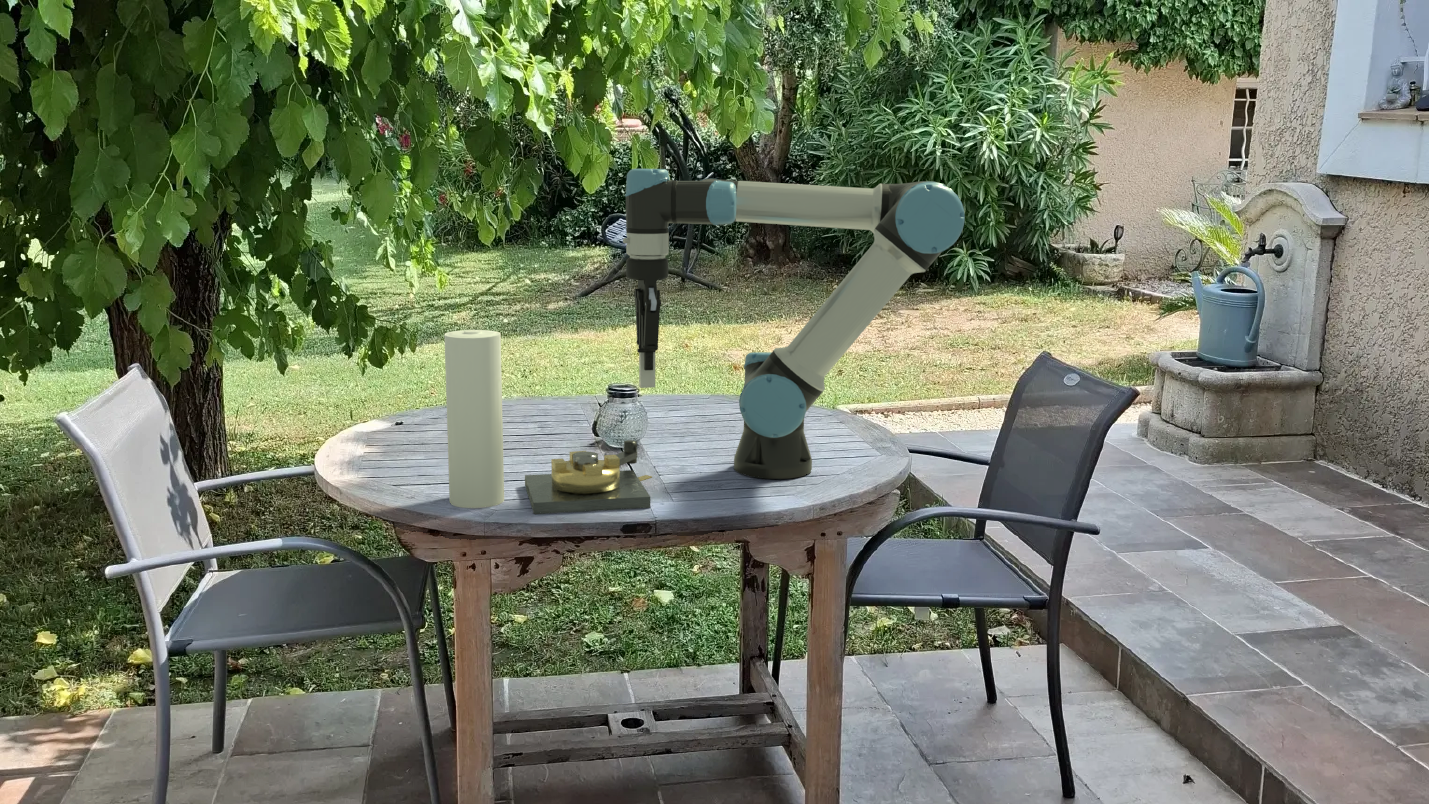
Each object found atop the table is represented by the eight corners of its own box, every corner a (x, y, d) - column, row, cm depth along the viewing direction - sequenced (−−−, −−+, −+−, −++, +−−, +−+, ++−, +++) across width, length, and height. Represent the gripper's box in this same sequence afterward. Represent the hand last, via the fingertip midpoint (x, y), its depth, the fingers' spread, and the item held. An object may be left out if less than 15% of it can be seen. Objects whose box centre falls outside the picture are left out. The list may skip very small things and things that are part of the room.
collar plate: (650, 475, 232) (651, 465, 232) (672, 506, 212) (672, 495, 212) (523, 481, 227) (523, 471, 226) (533, 514, 207) (533, 502, 206)
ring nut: (606, 458, 235) (605, 430, 234) (661, 465, 230) (661, 437, 229) (538, 487, 214) (538, 458, 213) (598, 496, 209) (597, 466, 208)
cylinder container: (507, 493, 219) (504, 327, 213) (500, 508, 210) (496, 335, 204) (454, 492, 219) (449, 326, 213) (445, 508, 209) (439, 334, 203)
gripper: (620, 253, 223) (621, 381, 228) (632, 260, 211) (633, 394, 215) (660, 253, 225) (660, 379, 230) (675, 259, 212) (674, 393, 217)
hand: (647, 386), depth 222 cm, fingers closed
